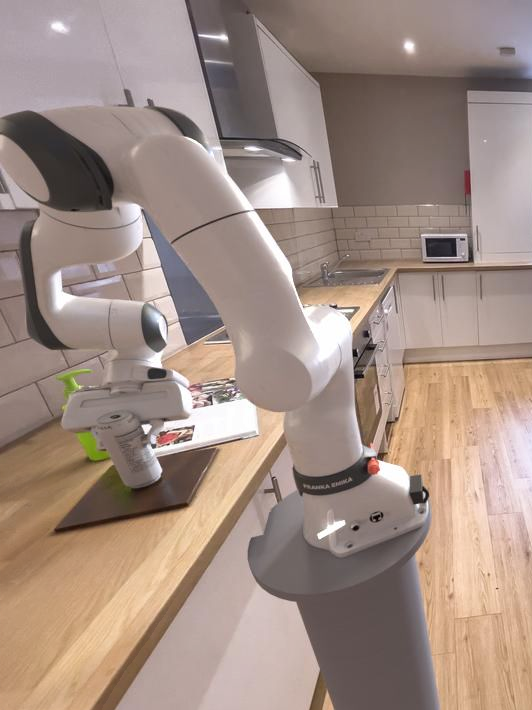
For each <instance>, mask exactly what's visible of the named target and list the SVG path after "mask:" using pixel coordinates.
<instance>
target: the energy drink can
mask: <svg viewBox="0 0 532 710" xmlns="http://www.w3.org/2000/svg"><path fill="white" fill-rule="evenodd" d="M96 421H97V427H96V431H97V433H98V435H99V437H100V439H101V441H102V443H103V445H104V446H105V448H106V450H107V452H108V454H109V456H110V458H109V459H110V460H111V462H112V465H115V467H116V469H117V471H118V473H119V475H120V477H121V479H122V481H123V483H124V484H125V485H126V486H130V487H131V488H141V487H145V486H147V485H150V484H152V483H154V482H155V481H157V480H158V479H159V478H160V476H161V475H160V474H161V473H162V468H161V466H160V464H159V462H158V460H157V455H156V454H155V451H154V450H153V447H152V445H144V444H142V440H143V439H142V437H143V435H145V434H146V432H145V430H144V428H143V425H141V423H140V421H139V419H138V417H136V416H135V415H133V414H131V412H130V411H129V410H118V411H114V412H110V413H107V414H105V415H102V416H100V417H99V418H98V419H97V420H96Z"/></svg>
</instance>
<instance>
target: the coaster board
mask: <svg viewBox="0 0 532 710" xmlns="http://www.w3.org/2000/svg"><path fill="white" fill-rule="evenodd" d="M218 452H219V447H218V446H216V447H209V448H204V449H198V450H193V451H187V452H180V453H174V454H168V455H163V456H156V458H157V460H158V462H159V464H160V466H161V468H162V473H161V474H160V475H161V476H160V478H159V479H158V480H157V481H155V482H154V483H152V484H150V485H147V486H145V487H141V488H131V487H130V486H126V485H125V484H124V483H123V481H122V479H121V477H120V475H119V473H118V471H117V469H116V467H115V465H114V464H112V465H110V467H108V469H107V470H106V471H105V472H104V473H103V474H102V476H100V478H99V479H98V480H97V481H96V482H95V483H94V484H93V485H92V486H91V487H90V489H89V490H87V492H86V493H85V494H84V495H83V496H82V497H81V498H80V500H79V501H78V502H77V503H76V504H75V505H74V506H73V507H72V508H71V510H70V511H68V513H67V514H66V515H65V516H64V517H63V518H62V519H61V520H60V521H59V522H58V524H57V525H56V526H55V527H54V528H53V531H54V533H61V532H67V531H70V530H76V529H80V528H86V527H91V526H94V525H99V524H105V523H109V522H115V521H120V520H124V519H130V518H135V517H140V516H144V515H149V514H154V513H159V512H163V511H168V510H173V509H178V508H182V507H187V506H190V504H191V502H192V500H193V498H194V496H195V495H196V493H197V491H198V489H199V487H200V486H201V484H202V481H203V480H204V478H205V476H206V475H207V472H208V470H209V469H210V467H211V465H212V463H213V461H214V459H215V458H216V456H217V454H218Z"/></svg>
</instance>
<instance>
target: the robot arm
mask: <svg viewBox="0 0 532 710" xmlns="http://www.w3.org/2000/svg"><path fill="white" fill-rule="evenodd" d="M215 158H216V157H215V154H214V151H213V148H212V146H211V143H210V141H209V140H208V138H207V137H206V135H205V133H204V132H203V131H202V129H200V127H199V126H198V125H197V124H196V123H195V122H194V121H193V120H192V119H191V118H190V117H189V116H187V115H186V114H185V113H183V112H181V111H179V110H176V109H173V108H169V107H165V106H164V107H163V106H158V105H145V106H143V107H136V106H121V105H120V106H119V105H118V106H116V105H115V106H114V105H113V106H111V105H110V106H109V105H108V106H105V105H104V106H99V105H95V104H89V105H88V104H86V105H73V106H65V107H58V108H53V109H45V110H43V111H37V112H36V111H34V110H28V109H27V110H22V111H16V112H14V113H10V114H7V115H3V116H1V117H0V165H1V166H2V168H3V170H4V171H5V173H6V174H7V175H8V177H10V178H11V180H12V181H13V182H14V183H15V184H16V186H18V187H19V189H20V190H22V192H23V193H25V195H27V196H28V197H30V198H31V199H32V200H33V201H35V202H37V205H38V208H39V216H38V218H34V219H30V220H27V221H25V222H24V224H23V225H22V228H21V230H20V233H19V237H18V258H19V267H20V275H21V282H22V288H23V296H24V302H25V314H24V324H25V329H26V331H27V335H28V337H29V338H30V339H32V340H33V341H35V343H38V344H39V345H41V346H43V347H44V348H46V349H48V350H51V351H67V350H70V351H71V350H104V351H105V350H106V351H107V353H108V354H107V355H108V356H107V358H106V360H105V362H104V365H103V372H102V373H103V374H102V383H101V384H96V385H90V386H88V385H87V386H84V385H83V386H84V387H79V388H78V389H77V390H75V391H73V392H72V393H70V394H69V397H68V401H67V403H66V404H67V405H66V404H65V405H66V407H65V410H64V411H63V414H62V416H61V417H62V418H61V421H60V426H61V427H62V429H63V430H65V431H68V432H70V433H73V434H76V433H86V432H91V434H92V436H93V437H94V438H95V440H96V441H97V448H96V449H97V450H98V451H101V452H103V451H107V450H106V448H105V446H104V445H103V443H102V441H101V439H100V437H99V435H98V433H97V431H96V427H97V421H96V420H97V419H98V418H99V417H100V416H102V415H105V414H107V413H110V412H114V411H118V410H129V411H130V412H131V414H133V415H135V416H136V417H138V419H139V421H140V423H141V426H145V425H149V426H151V427H150V428H149V430H148V432H147V433H145V435H143V437H142V439H143V440H142V444H144V445H151V446H152V445H156V444H157V437H158V436H159V434H160V433H161V431H162V430H163V429H164V428H165V423H167V422H174V421H176V422H177V421H183V420H188V419H189V418H190V417H191V416H192V415H193V411H194V410H193V409H194V408H193V396H192V393H191V391H190V390H189V389H188V388H189V386H190V381H189V380H188V379H187V378H186V376H183V375H182V374H180V373H179V372H177V371H176V370H173V369H171V368H164V367H163V364H162V362H161V361H162V356H163V354H164V351H165V348H166V347H167V346H168V336H169V324H168V320H167V318H166V315H164V314H163V313H162V312H161V311H160V310H159V309H158V308H156V307H155V306H154V305H153V304H151V303H149V302H144V301H139V300H127V299H116V298H115V299H113V298H112V299H111V298H98V297H85V296H84V297H83V296H79V295H73V294H69V293H66V292H64V291H63V283H62V282H63V280H62V271H64V270H66V269H70V268H76V267H82V266H83V267H84V266H91V265H93V266H95V265H106V264H110V263H114V262H118V261H120V260H123V259H125V258H126V257H128V256H130V255H132V254H133V253H134V252H135V251H136V250H138V249H139V247H140V246H141V244H142V242H143V239H144V221H143V220H144V219H143V214H142V209H143V210H144V211H145V212H146V213H147V214H148V216H149V217H150V219H151V220H152V222H153V223H154V224H155V225H156V227H157V229H158V230H159V231H160V233H161V234H162V236H163V237H164V238H165V240H166V241H167V242H168V244H169V245H170V246H171V248H172V249H173V250H174V251H175V253H176V254H177V256H178V257H179V258H180V259H181V261H182V262H183V263H184V265H185V266H186V267H187V269H188V270H189V271H190V272H191V274H192V275H193V277H194V278H195V279H196V281H197V282H198V284H199V285H200V286H201V287H202V289H203V290H204V291H205V292H206V294H207V296H208V297H209V299H210V300H211V302H212V303H213V305H214V307H215V309H216V311H217V313H218V315H219V317H220V319H221V322H222V323H223V326H224V329H225V331H226V333H227V337H228V338H229V341H230V344H231V346H232V350H233V354H234V361H235V362H234V380H235V385H236V387H237V389H238V390H239V392H240V393H241V395H242V396H243V397H244V398H245V400H247V401H248V402H249V403H251V404H252V405H253V406H255V407H257V408H259V409H262V410H264V411H268V412H271V413H272V412H273V413H284V415H283V421H282V428H283V433H284V436H285V440H286V444H287V446H288V450H289V453H290V457H291V460H292V463H293V464H292V465H293V466H292V468H291V469H292V477H293V481H294V484H295V487H296V490H298V491H299V494H300V496H302V501H303V509H304V526H303V535H304V538H305V540H306V541H307V542H308V543H309V544H311V545H312V546H314V547H317V548H321V549H326V550H329V551H330V552H331V553H332V554H334V555H335V556H336V557H339V558H343V557H347V556H349V555H352V554H354V553H357V552H359V551H362V550H364V549H367V548H369V547H372V546H374V545H377V544H379V543H382V542H384V541H387V540H389V539H392V538H394V537H397V536H399V535H402V534H404V533H407V532H409V531H412V530H414V529H417V528H419V527H421V526H423V525H424V523H425V521H426V519H427V517H428V511H429V506H428V498H430V492H429V490H428V488H427V487H425V486H424V482H423V475H422V474H415V475H409V474H408V473H407V471H406V470H405V469H404V468H403V467H402V466H400V465H397V464H392V463H390V462H386V461H383V460H379V459H378V456H377V452H376V450H375V447H374V445H373V443H372V442H370V447H368V446H365V444H363V443H362V438H361V433H360V428H359V423H358V418H357V412H356V411H357V410H356V401H355V399H356V397H355V373H354V359H353V357H354V356H353V337H354V336H353V335H354V334H353V328H352V325H351V323H350V321H349V320H348V318H347V317H346V316H345V315H344V314H343V312H341V311H339V310H338V309H336V308H334V307H331V306H328V305H321V304H319V305H310V306H309V305H308V306H304V307H303V305H302V303H301V300H300V298H299V296H298V292H297V290H296V286H295V284H294V280H293V269H292V266H291V263H290V261H289V260H288V258H287V257H286V255H285V254H284V252H283V251H282V250H281V247H280V246H279V245H278V243H277V242H276V240H275V239H274V237H273V235H272V234H271V232H270V231H269V229H268V228H267V226H266V225H265V223H264V222H263V220H262V219H261V217H260V216H259V214H258V213H257V211H256V209H255V208H254V207H253V206H252V204H251V202H250V201H249V199H248V198H247V197H246V195H245V194H244V193H243V191H242V190H241V189H240V187H239V186H238V185H237V183H236V182H235V181H234V179H232V178H231V176H230V174H229V173H228V171H226V170H225V168H223V167H222V165H220V163H219V162H218V160H216V159H215ZM141 208H142V209H141ZM78 391H79V392H78ZM408 475H409V476H410V477H409V476H408ZM350 547H351V548H350Z"/></svg>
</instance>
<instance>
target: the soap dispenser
mask: <svg viewBox="0 0 532 710" xmlns="http://www.w3.org/2000/svg"><path fill="white" fill-rule="evenodd" d="M92 372H93V369H90V368H83V369H76V370H71V371H67V372H65V373H62V374H59V375H56V376H55V379H56V380H57V381H61V382H63V384H64V386H65V388H64V389H63V390H62V394H63V396H64V398H65V399H66V401H67V402H68V397H69V394H70V393H72V392H73V391H75V390H77V389H78V388H79V387H84V385H80V384H78V383H77V381H76V380H75V377H76V376H79V375H84V374H90V373H92ZM78 392H79V391H78ZM66 405H67V403H66V404H64V405H62V407H61V409H62V411H63V412H64V410H65V407H66ZM75 435H76V436H77V439H78V440H79V442H80V444H81V447H82V448H83V450H84V451H85V453H86V454H87V455H86V456H87V457H88V458H89V460H90V461H94V462H98V461H103V460H107V459H111V458H110V456H109V454H108V452H107V451H103V452H101V451H98V450H97V449H96V448H97V441H96V440H95V438H94V437H93V436H92V434H91V432H86V433H75Z"/></svg>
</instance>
